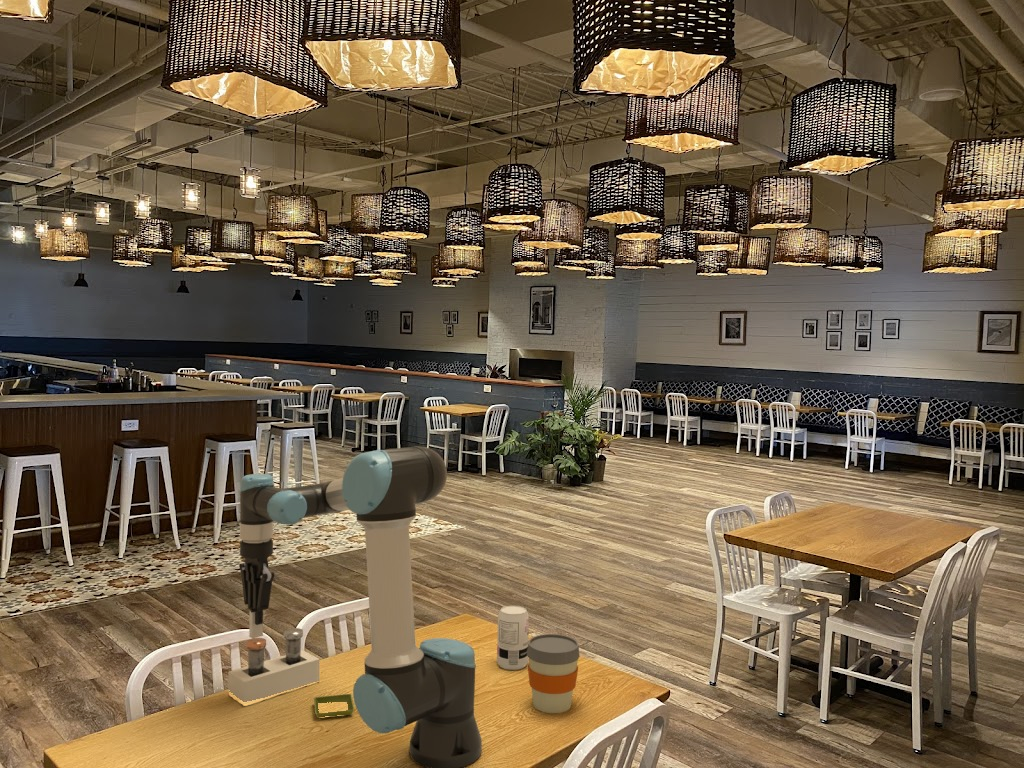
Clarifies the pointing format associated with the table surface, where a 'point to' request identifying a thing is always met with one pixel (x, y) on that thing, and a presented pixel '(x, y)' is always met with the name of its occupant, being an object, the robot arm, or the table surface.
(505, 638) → the supplement can
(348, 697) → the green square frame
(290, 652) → the grey plug
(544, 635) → the reusable coffee cup
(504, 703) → the table surface
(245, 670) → the socket block
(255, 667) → the terracotta plug
